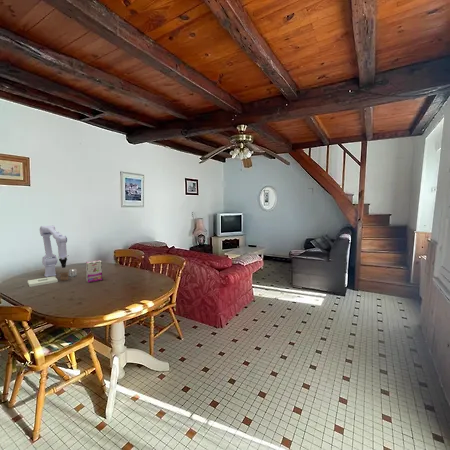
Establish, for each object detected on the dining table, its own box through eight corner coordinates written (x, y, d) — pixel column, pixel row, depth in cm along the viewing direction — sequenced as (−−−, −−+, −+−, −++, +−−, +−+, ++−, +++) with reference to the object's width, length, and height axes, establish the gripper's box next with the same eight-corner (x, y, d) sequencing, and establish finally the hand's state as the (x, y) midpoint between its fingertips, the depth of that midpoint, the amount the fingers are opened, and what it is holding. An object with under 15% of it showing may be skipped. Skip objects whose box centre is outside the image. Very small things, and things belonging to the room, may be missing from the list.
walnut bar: (60, 280, 201) (60, 273, 200) (67, 278, 204) (67, 272, 204) (61, 281, 199) (60, 273, 198) (68, 279, 202) (67, 272, 202)
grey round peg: (68, 276, 212) (68, 269, 212) (75, 274, 216) (75, 268, 216) (70, 277, 208) (70, 270, 208) (77, 276, 212) (77, 269, 212)
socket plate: (27, 283, 192) (27, 280, 192) (54, 278, 204) (54, 276, 204) (29, 286, 183) (29, 284, 183) (57, 282, 196) (57, 279, 196)
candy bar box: (101, 278, 207) (100, 260, 206) (102, 280, 203) (102, 261, 202) (86, 281, 200) (85, 261, 199) (87, 282, 196) (87, 263, 195)
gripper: (68, 250, 195) (69, 267, 196) (67, 249, 207) (69, 265, 208) (58, 252, 191) (59, 268, 192) (57, 250, 203) (59, 266, 203)
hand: (63, 267), depth 199 cm, fingers open, 7 cm apart
